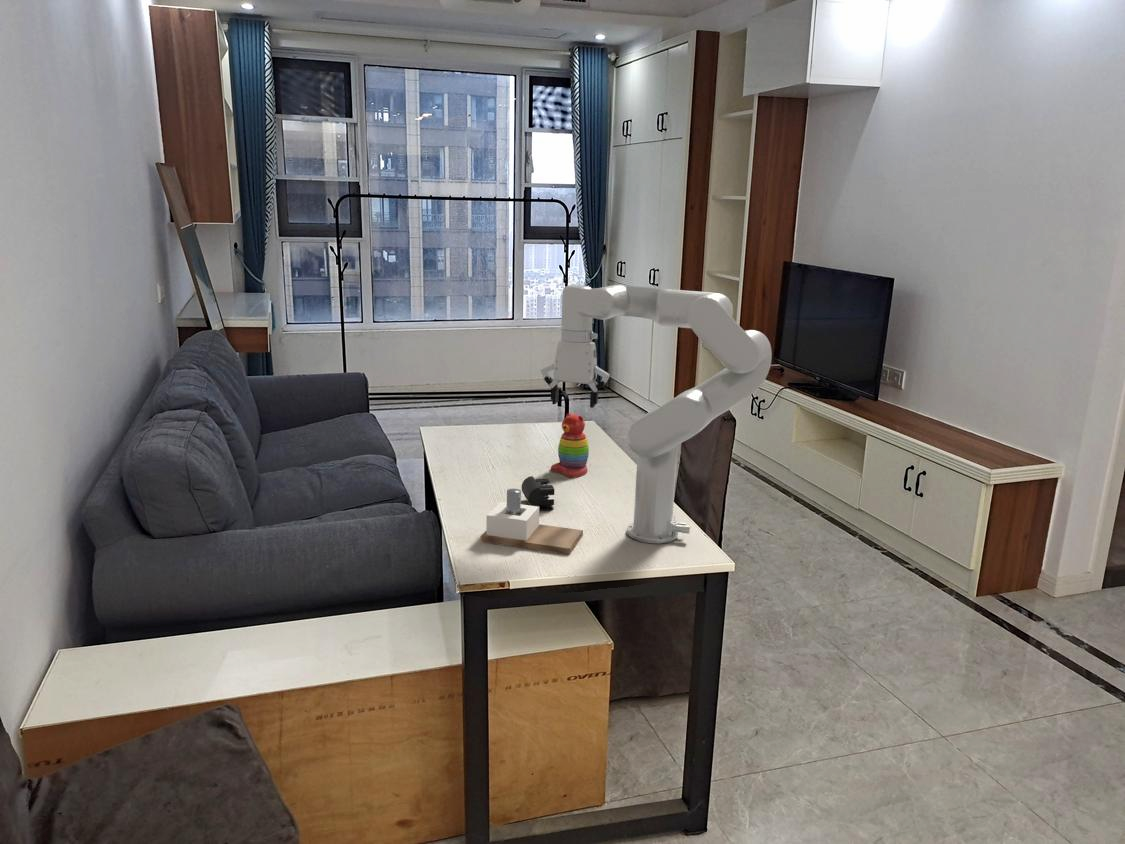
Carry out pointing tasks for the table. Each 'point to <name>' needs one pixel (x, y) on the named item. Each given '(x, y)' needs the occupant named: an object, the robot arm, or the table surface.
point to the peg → (513, 502)
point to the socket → (512, 522)
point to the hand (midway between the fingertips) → (573, 404)
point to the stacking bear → (572, 448)
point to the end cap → (538, 493)
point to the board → (542, 539)
